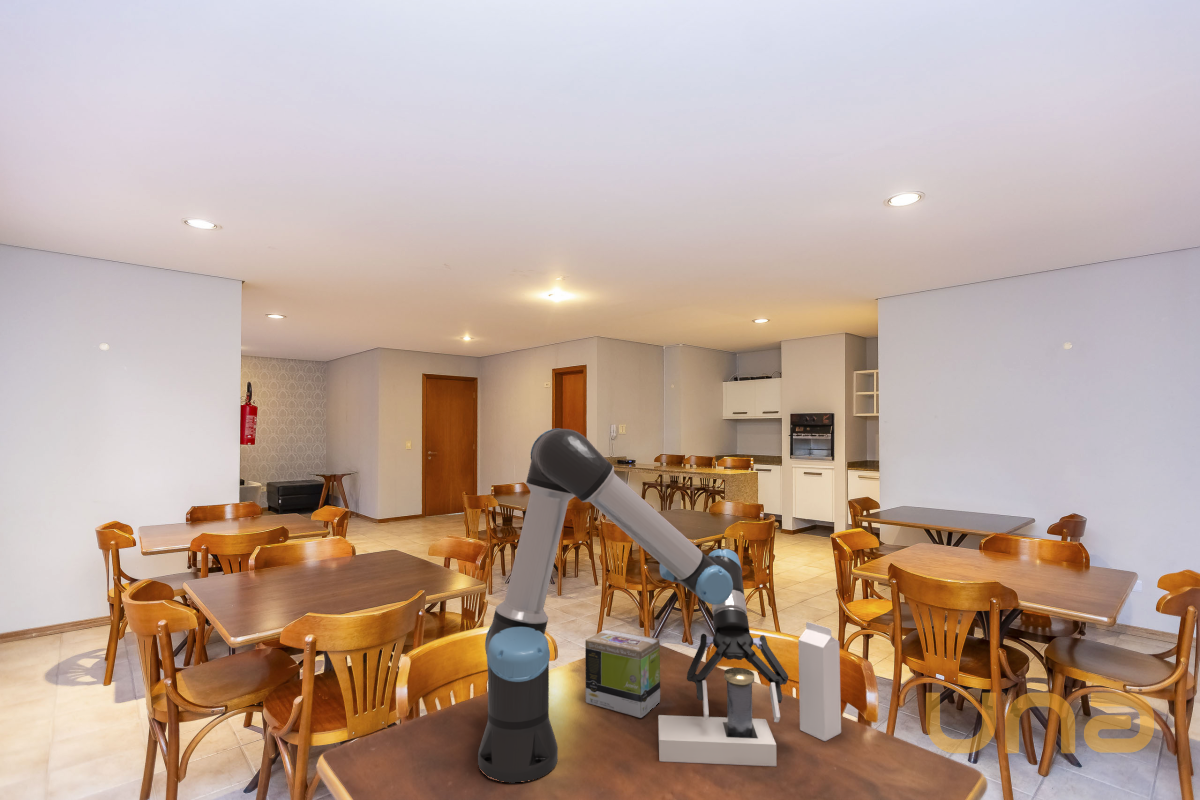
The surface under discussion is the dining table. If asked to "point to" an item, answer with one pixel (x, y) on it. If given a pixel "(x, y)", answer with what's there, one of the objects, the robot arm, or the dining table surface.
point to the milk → (819, 682)
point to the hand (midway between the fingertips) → (741, 718)
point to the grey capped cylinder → (739, 702)
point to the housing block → (713, 742)
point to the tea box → (623, 672)
